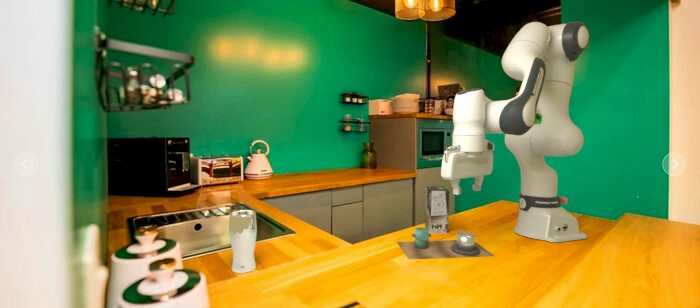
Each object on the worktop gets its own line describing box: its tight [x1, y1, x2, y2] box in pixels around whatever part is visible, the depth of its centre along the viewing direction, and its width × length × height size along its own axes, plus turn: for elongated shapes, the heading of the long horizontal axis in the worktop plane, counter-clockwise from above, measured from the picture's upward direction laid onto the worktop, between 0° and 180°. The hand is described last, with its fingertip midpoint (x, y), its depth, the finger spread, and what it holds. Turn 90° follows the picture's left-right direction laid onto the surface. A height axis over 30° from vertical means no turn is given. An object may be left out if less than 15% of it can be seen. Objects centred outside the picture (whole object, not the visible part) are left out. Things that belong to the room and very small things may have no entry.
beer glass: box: [228, 209, 258, 274], centre depth 86 cm, size 7×7×15 cm
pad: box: [451, 244, 480, 256], centre depth 96 cm, size 8×8×1 cm
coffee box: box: [424, 185, 450, 234], centre depth 116 cm, size 9×6×16 cm
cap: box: [456, 230, 476, 251], centre depth 96 cm, size 5×5×5 cm
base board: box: [396, 227, 495, 260], centre depth 97 cm, size 25×14×7 cm, turn 96°
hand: (467, 192), depth 95 cm, fingers open, 8 cm apart
